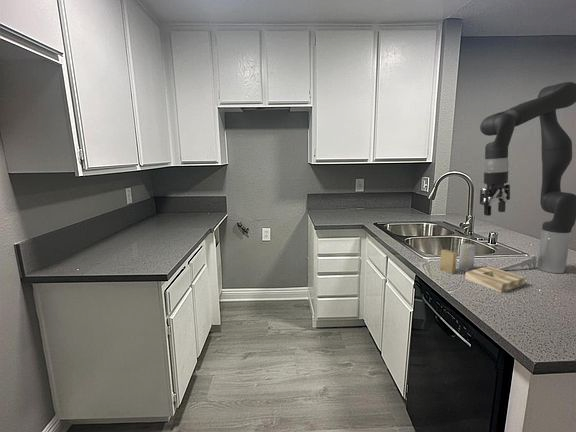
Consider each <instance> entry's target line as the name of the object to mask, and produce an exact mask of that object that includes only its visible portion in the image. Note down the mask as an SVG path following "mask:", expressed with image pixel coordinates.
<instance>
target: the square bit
mask: <svg viewBox="0 0 576 432" xmlns="http://www.w3.org/2000/svg"><path fill="white" fill-rule="evenodd" d="M475 253H476V245H475V244H471V243H468V242H466V243H462V244H460V247H459V257H458V269H459V270H461V271H464V272H468V271H472V270H474V267H475V266H474V264H475V255H476V254H475Z"/></svg>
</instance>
